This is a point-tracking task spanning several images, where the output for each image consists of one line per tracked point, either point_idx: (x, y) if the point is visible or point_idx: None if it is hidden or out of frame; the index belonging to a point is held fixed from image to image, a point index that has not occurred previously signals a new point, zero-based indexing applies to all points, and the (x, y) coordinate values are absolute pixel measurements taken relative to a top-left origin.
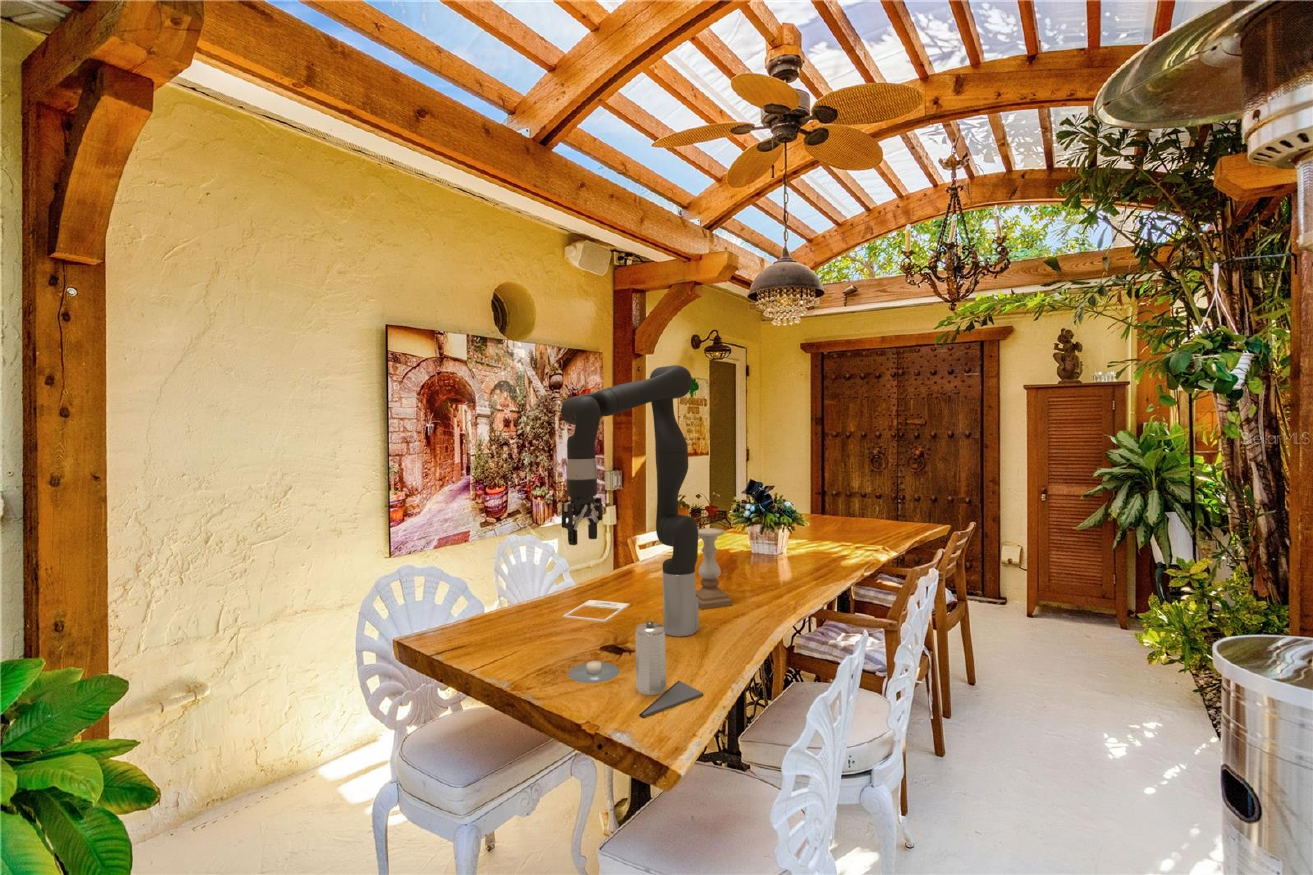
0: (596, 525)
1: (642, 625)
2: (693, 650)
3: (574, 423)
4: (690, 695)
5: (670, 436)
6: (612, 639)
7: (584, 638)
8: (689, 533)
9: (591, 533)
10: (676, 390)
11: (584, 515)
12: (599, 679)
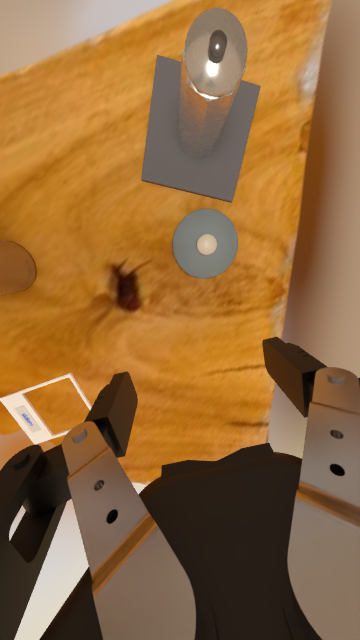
0: (97, 415)
1: (216, 81)
2: (47, 195)
3: None
4: (175, 67)
5: None
6: (105, 319)
7: (129, 348)
8: None
9: (128, 402)
10: None
11: (251, 468)
12: (217, 220)
